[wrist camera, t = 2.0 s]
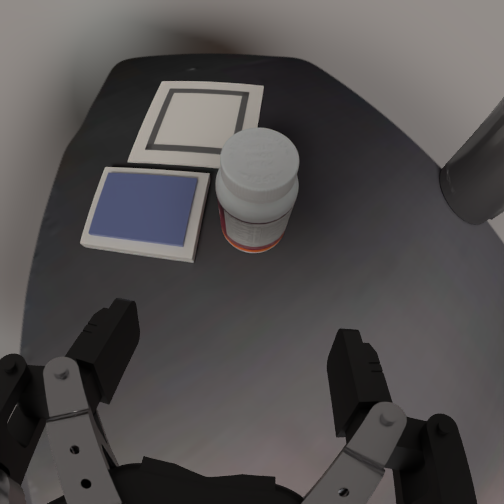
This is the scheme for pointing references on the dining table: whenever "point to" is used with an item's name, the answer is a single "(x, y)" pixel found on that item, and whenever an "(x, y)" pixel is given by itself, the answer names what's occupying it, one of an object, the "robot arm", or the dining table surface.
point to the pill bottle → (256, 188)
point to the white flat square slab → (195, 122)
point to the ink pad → (147, 212)
